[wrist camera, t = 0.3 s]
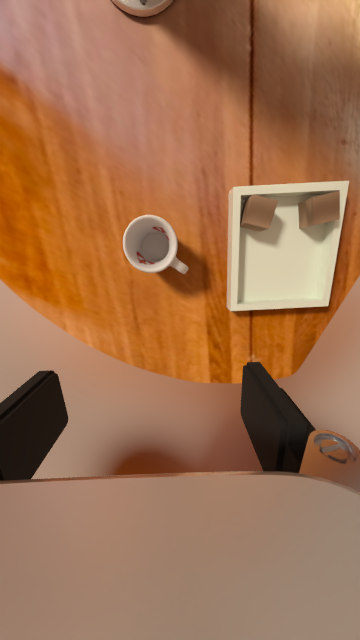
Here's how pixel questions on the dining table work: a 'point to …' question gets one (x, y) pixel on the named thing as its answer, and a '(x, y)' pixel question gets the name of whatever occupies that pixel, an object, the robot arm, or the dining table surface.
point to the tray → (282, 250)
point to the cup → (152, 245)
